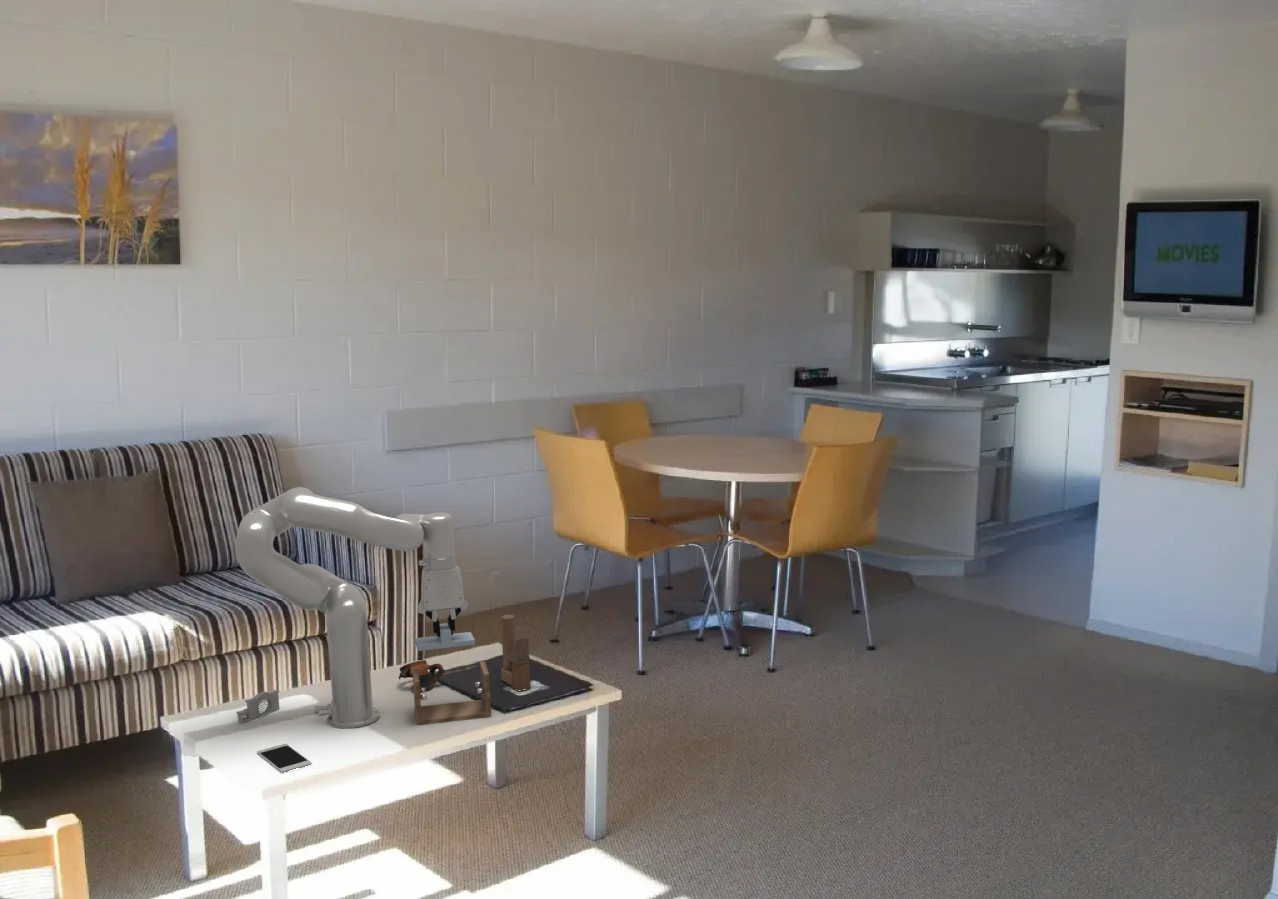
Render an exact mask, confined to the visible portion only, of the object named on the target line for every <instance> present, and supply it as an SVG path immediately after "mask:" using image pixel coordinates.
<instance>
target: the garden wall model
mask: <svg viewBox="0 0 1278 899" xmlns="http://www.w3.org/2000/svg"><path fill="white" fill-rule="evenodd" d="M279 693H280V690H279V688H277V689H274V690H271V691H261V692H258V693H257V694H256V695H254V696H253V697H251V698H248V699H245V700H244V702H245V703H246V708H243V709H241V710H238V711H236V714H237V723H238V724H243V723H246V722H249V721H251V720H254V719H257V718H259V717H262V716H267V715H269V714H270V713H272V712H276V711H278V710H280V700H279Z"/></svg>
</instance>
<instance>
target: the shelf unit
mask: <svg viewBox="0 0 1278 899" xmlns="http://www.w3.org/2000/svg"><path fill="white" fill-rule="evenodd" d="M479 670H480V681H475V682H474V684H475V685H474V686H475V688H477V690H476V691H477V695H478V694H479V695H480V694H481V699H476V700H475V699H473V700H467V701H459V702H458V701H457V702H449V703H448V702H447V703H440V704H439V703H438V704H429V705H422V702H421V701H423V700H427V699H428V694H424V693H426V692H427V690H426V689H425V688H420V680H419V675H418V670H417V668H414V669H412V671H413V678H412V685H413V687H414V693H413V699H414V713H415V720H416V725H417V726H420V725H421V726H423V725H429V724H430V725H431V724H438V723H439V724H440V723H448V722H453V721H454V722H455V721H465V720H475V719H482V718H491V717H492V706H491V705H492V704H491V685H490V681H491V680H490V672H489V669H488V667H487V664H486V661H485V660H484V661H479ZM478 687H480V688H478Z"/></svg>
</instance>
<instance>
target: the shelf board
mask: <svg viewBox="0 0 1278 899" xmlns="http://www.w3.org/2000/svg"><path fill="white" fill-rule="evenodd" d="M414 641H415V642H414V643H415V646H416V649H417V651H418V652H424V651H429V650H431V651H432V650H438V649H447V648H455V647H456V648H457V647H464V646H466V647H467V646H473V645H476V639H475V637H474V636H473V633H472V632H471V631H469V632H467V631H466V632H465V631H464V632H458V633H453V635H451V630H450V628H449V626H448V622H446V623H440V637H437V635H432V636H425V637H415V638H414Z"/></svg>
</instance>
